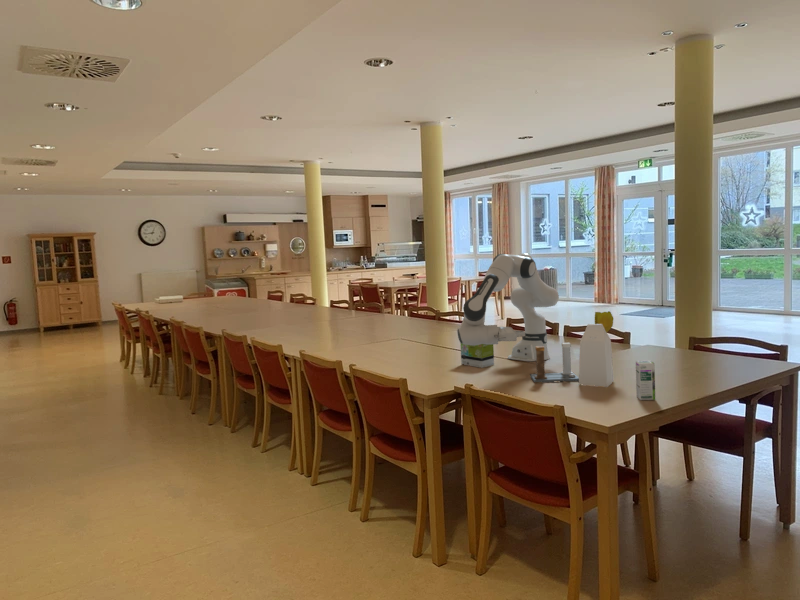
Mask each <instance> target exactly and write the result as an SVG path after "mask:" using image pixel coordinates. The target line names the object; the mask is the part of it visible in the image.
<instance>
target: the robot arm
mask: <svg viewBox="0 0 800 600" xmlns="http://www.w3.org/2000/svg"><path fill="white" fill-rule="evenodd" d="M536 264H537V263H536V262H535V260H534V258H533V257H532V255H530V254H529V253H526V252H525V253H524V252H522V253H519V254H510V253H509V254H506V253H499V254H497V255H496V256H495V257H494V258H493V260H492V262H491V264H490V266H489V267H488V269H487V271H486V273H485V275H484V278H483V281H482V282H481V284H480V285H479V287H478V289H477V290H476V291H475V293H474V295H472V296H471V297H469V299H467V300H466V301H465V302H464V304H463V308H462V311H463V318H462V322H461V324H460V326H459V327H457V330H456V331H457V338H458V341H459V343H461V344H464V345H480V344H486V345H492V344H493V345H498V344H499V342H516V341H517V339H518V338H522V339H521V340H519V341H518V342H517V343H516V344H515V345H513V347H512V349H511V354H509V355H507V359H509V360H515V361H516V360H517V361H523V362H537V361H536V347H535V346H544V361H546V360H550V358H551V357H550V354H549V349H548V344H547V343H548V333H547V326H546V322H547V321H546V318H545V317H544V316H543V314H541V313H538V312H537V311H536V310H535V308H549V307H550V308H551V307H554V306H557V303H558V302H559V298H560V295H559V292H558V290H557V289H556V288H554V287H552V286H550V285H548V284H547V283H546V282H544V281H543V280H542V279H541V276H540V274H539V271H538V268H537V265H536ZM510 278H516V279H517V282H518V286H520V287H517V288H514V289H512V292H511V293H510V302H511V304H512V305H513V306H514V307H516V308H517V309H518V311H520V313H521V315H522V318H523V323H524V330H515V329H513V328H512V327H511V326H498V325H497V324H486V325H485V322H486V312H487V303H488V300H489V298H490V297H491V296H492V294H493V293H494V292H497V293H498V292H501V291H502V290H503V289H504V288H505V287H506V285H507V284H508V282H509V280H510ZM461 344H460V345H461Z"/></svg>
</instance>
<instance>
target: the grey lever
mask: <svg viewBox="0 0 800 600" xmlns="http://www.w3.org/2000/svg"><path fill="white" fill-rule="evenodd" d="M571 345H572V344H571V342H562V343H561V348H562V349H561V350H562V371H560V373H561V374H562V375H569V374H573V373H574V372H573V371H572V366H571V365H572V359H571V358H572V357H571V347H572V346H571Z"/></svg>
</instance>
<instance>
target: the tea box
mask: <svg viewBox="0 0 800 600" xmlns="http://www.w3.org/2000/svg"><path fill="white" fill-rule="evenodd" d="M459 343H460V342H459ZM494 353H495V352H494V344H492V345H486V344H480V345H464V344H461V343H460V362H461V365H462V364H464V366H469V365H470V367H475V368H476V367H477V368H480V367H481V368H480V369H484V368H487V367H491V366H495V354H494Z"/></svg>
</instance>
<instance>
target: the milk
mask: <svg viewBox="0 0 800 600" xmlns="http://www.w3.org/2000/svg"><path fill="white" fill-rule="evenodd" d="M578 367H579V369H578V377H579V381H578V385H579V384H583V385H582V386H586V385H595V386H594V387H598V386H604V387H603V388H608V387H609V386H610V385H612V384H613V383H614V382H615V379H614V378H615V377H614V368H613V351H612V340H611V337H610V336H609V334H608V332H606V331H605V329H604V327H603V325H602V324H595V323H588V324H587V326H586V327H585V331H584V332H583V335H582V337H581V338H580V342H579V365H578ZM613 381H614V382H613ZM612 382H613V383H612Z"/></svg>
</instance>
